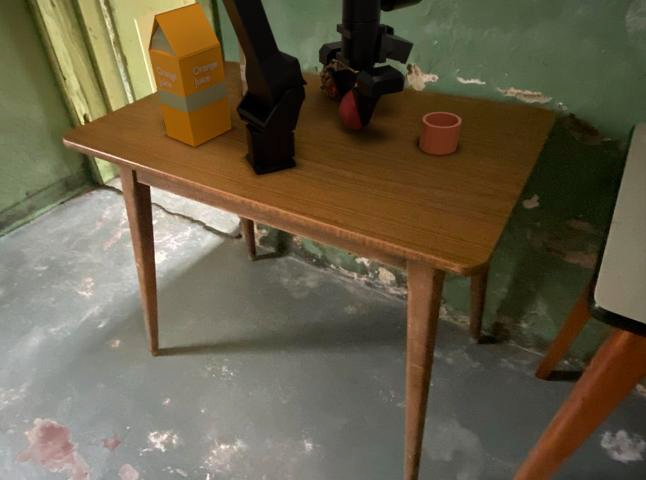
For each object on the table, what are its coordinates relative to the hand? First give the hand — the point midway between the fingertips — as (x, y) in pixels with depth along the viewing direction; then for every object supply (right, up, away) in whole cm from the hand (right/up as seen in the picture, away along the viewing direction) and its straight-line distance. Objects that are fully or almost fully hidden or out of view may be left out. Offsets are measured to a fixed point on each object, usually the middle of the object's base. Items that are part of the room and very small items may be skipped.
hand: (356, 118), depth 83 cm
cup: (+12, -6, -5) cm, 14 cm away
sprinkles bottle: (-18, +10, +16) cm, 26 cm away
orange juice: (-27, -1, +5) cm, 28 cm away
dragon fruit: (0, +9, +13) cm, 16 cm away
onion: (0, -2, +1) cm, 2 cm away
